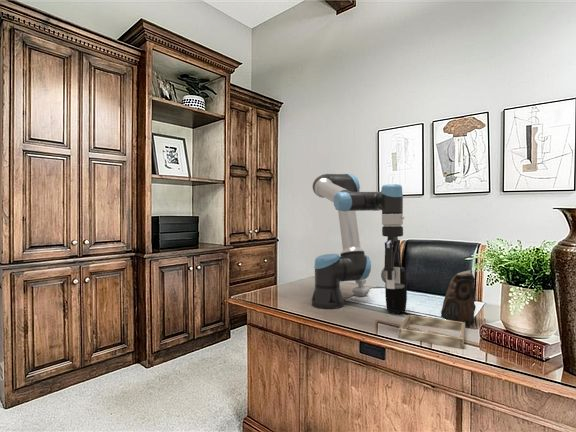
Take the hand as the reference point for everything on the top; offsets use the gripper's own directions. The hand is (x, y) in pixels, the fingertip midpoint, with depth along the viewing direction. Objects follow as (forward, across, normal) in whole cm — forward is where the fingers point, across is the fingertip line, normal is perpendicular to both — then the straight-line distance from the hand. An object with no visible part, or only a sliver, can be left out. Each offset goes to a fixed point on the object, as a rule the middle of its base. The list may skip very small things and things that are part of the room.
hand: (393, 286), depth 126 cm
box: (+16, +1, -13) cm, 21 cm away
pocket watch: (0, 0, 0) cm, 0 cm away
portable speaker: (+16, +21, +4) cm, 26 cm away
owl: (+16, +21, -20) cm, 33 cm away
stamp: (+15, +40, +27) cm, 51 cm away
